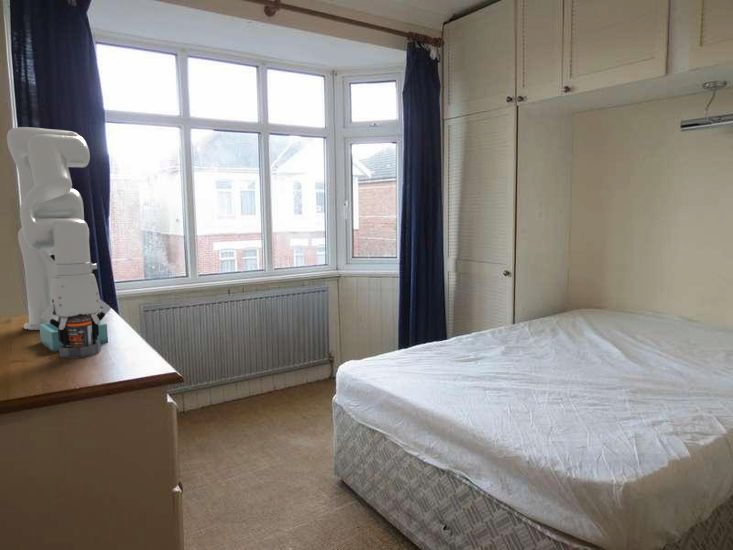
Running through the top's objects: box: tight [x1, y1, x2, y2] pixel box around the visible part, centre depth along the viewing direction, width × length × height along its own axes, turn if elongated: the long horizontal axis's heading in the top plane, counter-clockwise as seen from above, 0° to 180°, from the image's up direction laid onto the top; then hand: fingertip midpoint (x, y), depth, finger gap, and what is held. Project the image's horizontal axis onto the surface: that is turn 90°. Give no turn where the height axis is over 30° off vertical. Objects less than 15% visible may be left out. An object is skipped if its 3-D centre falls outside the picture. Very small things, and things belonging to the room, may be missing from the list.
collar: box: [58, 339, 102, 359], centre depth 127 cm, size 9×9×2 cm
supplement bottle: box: [65, 314, 93, 347], centre depth 126 cm, size 6×6×11 cm
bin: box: [39, 320, 109, 352], centre depth 137 cm, size 13×13×5 cm
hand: (79, 340), depth 127 cm, fingers closed on supplement bottle, 6 cm apart
